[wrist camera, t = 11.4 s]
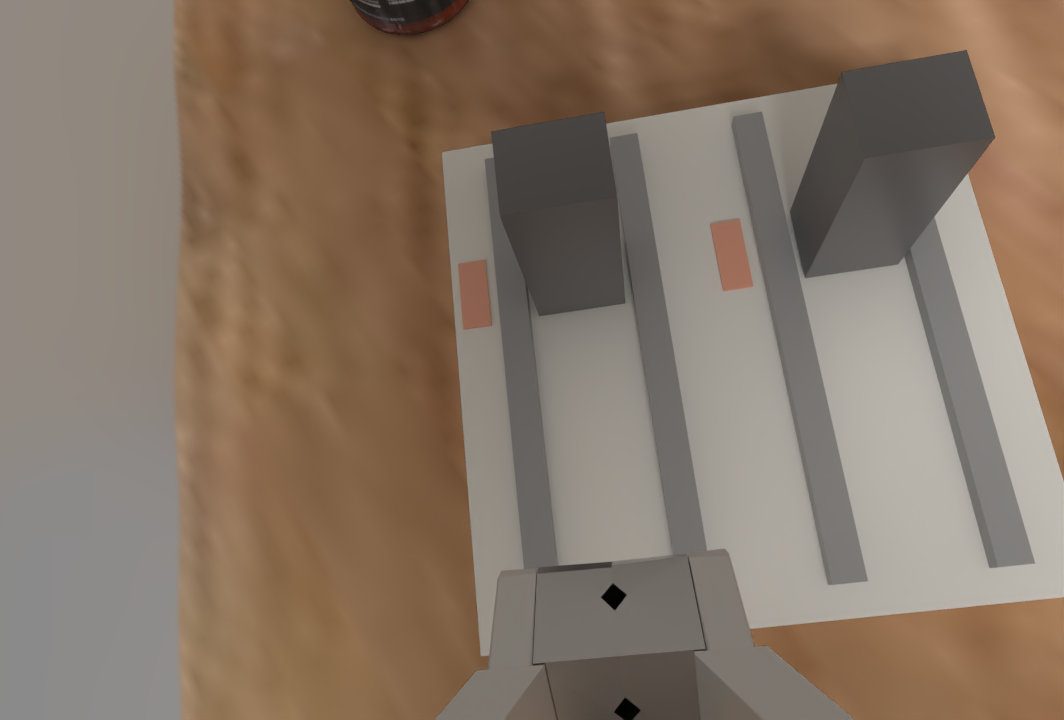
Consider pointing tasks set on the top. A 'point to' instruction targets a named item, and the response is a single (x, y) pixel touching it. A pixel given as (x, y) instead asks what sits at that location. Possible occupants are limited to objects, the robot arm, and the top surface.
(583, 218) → the switch tab
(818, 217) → the switch tab
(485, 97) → the top surface
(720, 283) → the white board with strips
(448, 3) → the supplement bottle
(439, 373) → the top surface
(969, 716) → the top surface
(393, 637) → the top surface
